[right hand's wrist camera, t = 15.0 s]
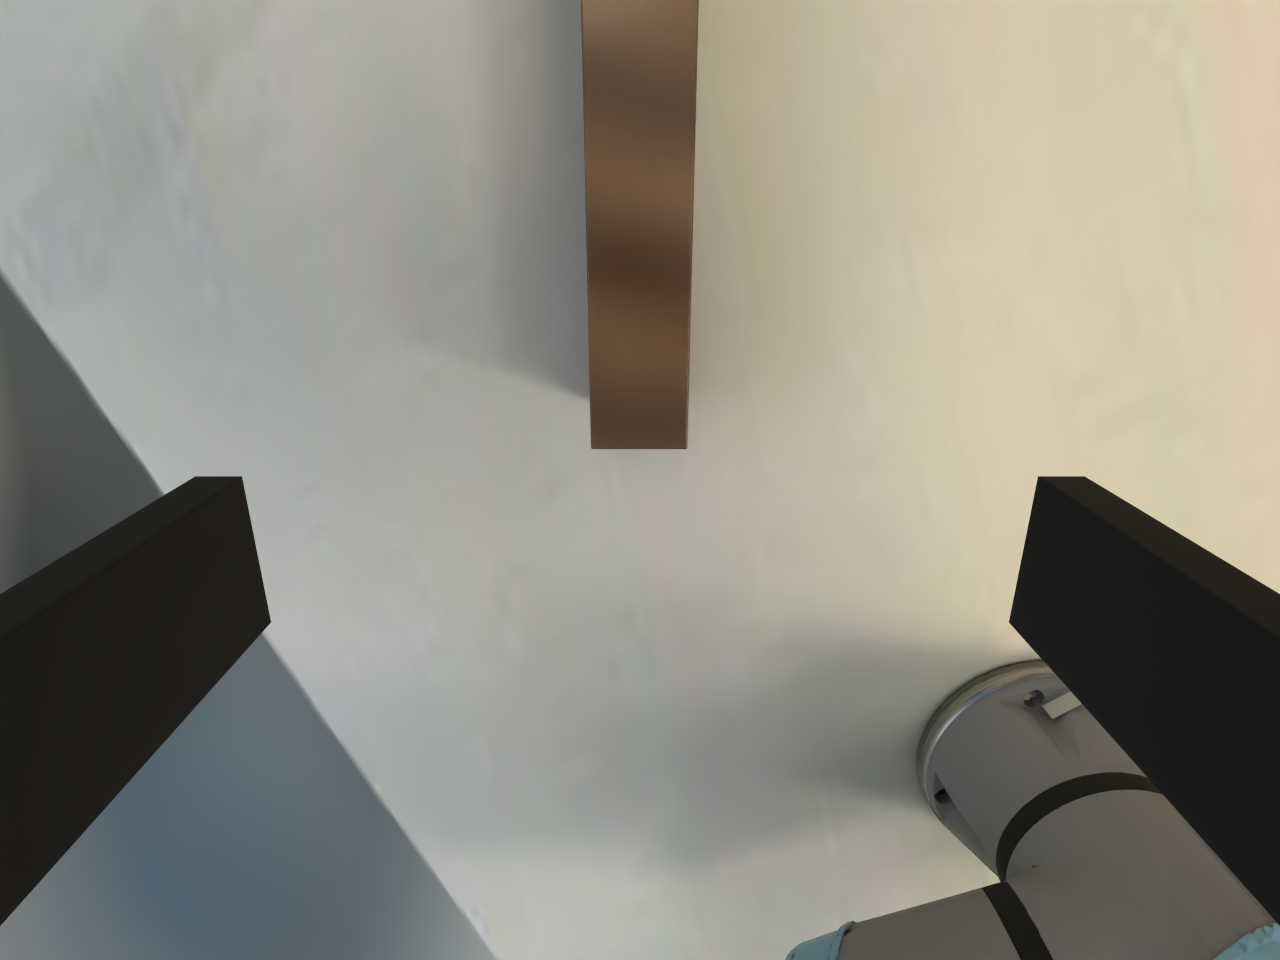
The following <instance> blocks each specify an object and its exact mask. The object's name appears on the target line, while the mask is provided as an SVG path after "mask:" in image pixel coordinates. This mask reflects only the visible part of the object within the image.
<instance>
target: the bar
mask: <svg viewBox="0 0 1280 960" xmlns="http://www.w3.org/2000/svg"><path fill="white" fill-rule="evenodd" d="M698 4H699V0H581V22H582V66H583V110H584V154H585V199H586V243H587V287H588V331H589V375H590V419H591V448H592V449H687V435H688V396H689V356H690V317H691V278H692V239H693V200H694V161H695V121H696V82H697V43H698Z"/></svg>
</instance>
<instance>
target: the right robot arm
mask: <svg viewBox="0 0 1280 960" xmlns="http://www.w3.org/2000/svg"><path fill="white" fill-rule="evenodd" d="M270 623H271V620H270V615H269V610H268V605H267V600H266V595H265V590H264V585H263V580H262V575H261V570H260V565H259V560H258V555H257V550H256V545H255V540H254V535H253V530H252V525H251V520H250V515H249V510H248V505H247V500H246V495H245V490H244V485H243V480H242V477H194V478H192V479H191V480H189V481H187V482H186V483H184V484H182V485H181V486H179V487H177V488H176V489H174V490H172V491H171V492H169V493H167V494H166V495H164V496H162V497H161V498H159V499H157V500H156V501H154V502H152V503H151V504H149V505H147V506H146V507H144V508H142V509H141V510H139V511H137V512H136V513H134V514H132V515H131V516H129V517H127V518H126V519H124V520H123V521H121V522H119V523H118V524H116V525H114V526H113V527H111V528H109V529H108V530H106V531H104V532H103V533H101V534H99V535H98V536H96V537H94V538H93V539H91V540H89V541H88V542H86V543H84V544H83V545H81V546H80V547H78V548H76V549H74V550H73V551H71V552H69V553H68V554H66V555H64V556H63V557H61V558H60V559H58V560H56V561H55V562H53V563H51V564H50V565H48V566H46V567H45V568H43V569H41V570H40V571H38V572H36V573H35V574H33V575H31V576H30V577H28V578H26V579H25V580H23V581H21V582H20V583H18V584H16V585H15V586H13V587H11V588H10V589H8V590H6V591H5V592H3V593H1V594H0V926H1V924H2V923H3V922H4V921H5V920H6V919H7V918H8V917H9V915H10V914H11V913H12V912H13V911H14V910H15V909H16V908H17V906H18V905H19V904H20V903H21V902H22V901H23V900H24V899H25V897H26V896H27V895H28V894H29V893H30V892H31V891H32V890H33V888H34V887H35V886H36V885H37V884H38V883H39V882H40V881H41V880H42V878H43V877H44V876H45V875H46V874H47V873H48V872H49V871H50V869H51V868H52V867H53V866H54V865H55V864H56V863H57V862H58V860H59V859H60V858H61V857H62V856H63V855H64V854H65V853H66V851H67V850H68V849H69V848H70V847H71V846H72V845H73V844H74V842H75V841H76V840H77V839H78V838H79V837H80V836H81V835H82V834H83V832H84V831H85V830H86V829H87V828H88V827H89V826H90V825H91V823H92V822H93V821H94V820H95V819H96V818H97V817H98V816H99V814H100V813H101V812H102V811H103V810H104V809H105V808H106V807H107V806H108V804H109V803H110V802H111V801H112V800H113V799H114V798H115V797H116V795H117V794H118V793H119V792H120V791H121V790H122V789H123V788H124V786H125V785H126V784H127V783H128V782H129V781H130V780H131V778H132V777H133V776H134V775H135V774H136V773H137V772H138V771H139V770H140V769H141V767H142V766H143V765H144V764H145V763H146V762H147V761H148V759H149V758H150V757H151V756H152V755H153V754H154V753H155V752H156V751H157V749H158V748H159V747H160V746H161V745H162V744H163V743H164V742H165V740H166V739H167V738H168V737H169V736H170V735H171V734H172V733H173V731H174V730H175V729H176V728H177V727H178V726H179V725H180V724H181V723H182V721H183V720H184V719H185V718H186V717H187V716H188V715H189V714H190V712H191V711H192V710H193V709H194V708H195V707H196V706H197V705H198V703H199V702H200V701H201V700H202V699H203V698H204V697H205V696H206V694H207V693H208V692H209V691H210V690H211V689H212V688H213V687H214V685H215V684H216V683H217V682H218V681H219V680H220V679H221V678H222V677H223V675H224V674H225V673H226V672H227V671H228V670H229V669H230V668H231V666H232V665H233V664H234V663H235V662H236V661H237V660H238V659H239V657H240V656H241V655H242V654H243V653H244V652H245V651H246V650H247V649H248V647H249V646H250V645H251V644H252V643H253V642H254V641H255V639H256V638H257V637H258V636H259V635H260V634H261V633H262V632H263V631H264V629H265V628H266V627H267V626H268V625H269V624H270ZM1009 623H1010V624H1011V625H1012V626H1013V627H1014V628H1015V629H1016V631H1017V632H1018V633H1019V634H1020V635H1021V636H1022V637H1023V638H1024V640H1025V641H1026V642H1027V643H1028V644H1029V645H1030V646H1031V647H1032V649H1033V650H1034V651H1035V652H1036V653H1037V654H1038V655H1039V656H1040V658H1041V659H1042V660H1043V661H1035V662H1025V663H1020V664H1014V665H1010V666H1006V667H1003V668H1000V669H997V670H994V671H992V672H989V673H987V674H985V675H982V676H980V677H979V678H977V679H975V680H973V681H971V682H970V683H968V684H966V685H965V686H963V687H962V688H961V689H959V690H958V691H957V692H955V693H954V694H953V695H952V696H951V697H950V698H948V699H947V700H946V701H945V702H944V703H943V704H942V706H941V707H940V708H939V709H938V710H937V711H936V713H935V714H934V715H933V717H932V718H931V720H930V721H929V723H928V725H927V727H926V729H925V730H924V733H923V735H922V738H921V740H920V744H919V748H918V754H917V771H918V777H919V781H920V784H921V786H922V789H923V791H924V793H925V795H926V797H927V799H928V801H929V803H930V805H931V807H932V809H933V811H934V813H935V814H936V816H937V817H938V819H939V820H940V821H941V822H942V823H943V824H944V825H945V826H946V827H947V828H948V829H949V830H950V831H951V832H952V833H953V834H954V835H955V836H956V837H957V838H958V839H959V840H960V841H961V842H962V843H963V844H964V845H965V846H966V847H967V848H968V849H969V850H970V851H972V852H973V853H974V854H975V855H976V856H977V857H978V858H979V859H980V860H981V861H982V862H983V863H984V864H985V865H986V866H987V867H988V868H989V869H990V870H991V871H992V872H993V873H995V874H996V875H997V876H998V878H999V879H1000V881H1001V882H1000V883H996V884H993V885H990V886H986V887H983V888H979V889H976V890H972V891H969V892H965V893H962V894H958V895H955V896H951V897H947V898H944V899H940V900H937V901H933V902H930V903H926V904H923V905H919V906H915V907H912V908H908V909H905V910H901V911H898V912H894V913H891V914H887V915H883V916H880V917H876V918H873V919H869V920H866V921H862V922H858V923H856V922H854V921H850V922H847V923H845V924H844V925H842V926H841V927H840V928H839V930H837V931H834V932H831V933H828V934H825V935H823V936H820V937H817V938H814V939H811V940H809V941H806V942H803V943H801V944H799V945H797V946H796V947H795V948H793V949H792V951H790V953H789V954H788V956H787V957H786V959H785V960H1280V594H1279V593H1277V592H1275V591H1274V590H1272V589H1270V588H1269V587H1267V586H1265V585H1264V584H1262V583H1260V582H1259V581H1257V580H1255V579H1254V578H1252V577H1250V576H1249V575H1247V574H1245V573H1244V572H1242V571H1240V570H1239V569H1237V568H1235V567H1234V566H1232V565H1230V564H1229V563H1227V562H1225V561H1224V560H1222V559H1220V558H1219V557H1217V556H1216V555H1214V554H1212V553H1211V552H1209V551H1207V550H1206V549H1204V548H1202V547H1201V546H1199V545H1197V544H1196V543H1194V542H1192V541H1191V540H1189V539H1187V538H1186V537H1184V536H1182V535H1181V534H1179V533H1177V532H1176V531H1174V530H1172V529H1171V528H1169V527H1167V526H1166V525H1164V524H1162V523H1161V522H1159V521H1157V520H1156V519H1154V518H1153V517H1151V516H1149V515H1148V514H1146V513H1144V512H1143V511H1141V510H1139V509H1138V508H1136V507H1134V506H1133V505H1131V504H1129V503H1128V502H1126V501H1124V500H1123V499H1121V498H1119V497H1118V496H1116V495H1114V494H1113V493H1111V492H1109V491H1108V490H1106V489H1104V488H1103V487H1101V486H1099V485H1098V484H1096V483H1094V482H1093V481H1091V480H1089V479H1088V478H1086V477H1038V480H1037V485H1036V490H1035V495H1034V500H1033V505H1032V510H1031V515H1030V520H1029V525H1028V530H1027V535H1026V540H1025V545H1024V550H1023V555H1022V560H1021V565H1020V570H1019V575H1018V580H1017V585H1016V590H1015V595H1014V600H1013V605H1012V610H1011V615H1010V620H1009Z"/></svg>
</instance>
